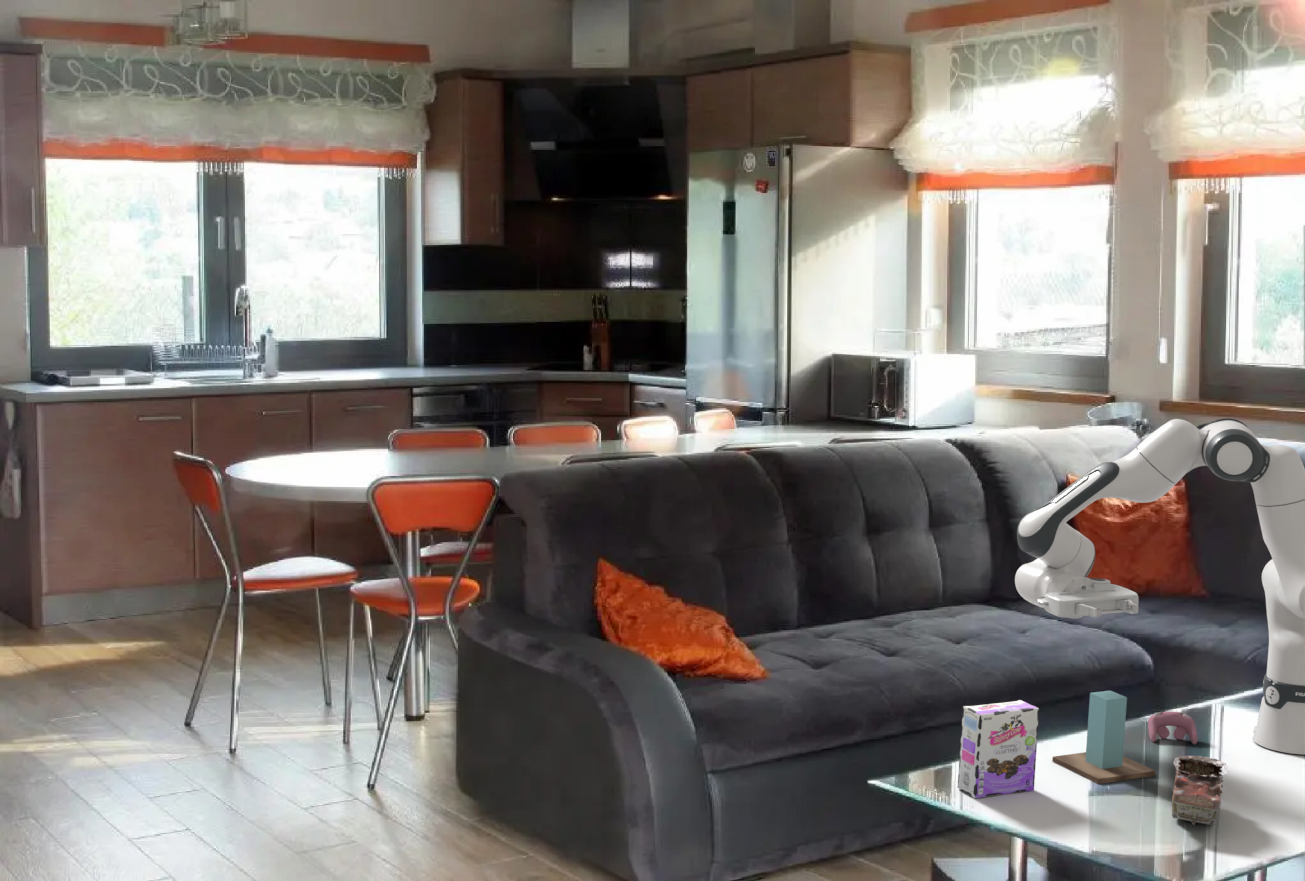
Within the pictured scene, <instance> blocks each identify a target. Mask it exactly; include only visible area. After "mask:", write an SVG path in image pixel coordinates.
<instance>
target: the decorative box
mask: <svg viewBox="0 0 1305 881" xmlns="http://www.w3.org/2000/svg"><path fill="white" fill-rule="evenodd" d="M1173 766H1174V768H1175V773H1174V774H1175V776H1174V782H1173V789H1172V792H1173V793H1172V796H1171V816H1172V818H1173V819H1178V820H1181V821H1187V822H1191V824H1192V825H1196V823H1197V824H1202V825H1209V826H1214V825H1215V823H1216V820H1217V817H1218V814H1219V811H1220V810H1221V804H1222V802H1221V801H1222V798H1221V796H1222V795H1221V794H1223V791H1222V788H1223V787H1224V785H1223V784H1222V783H1223V782H1224V780H1223V778H1224V776H1227V774H1228V772H1229V770H1228V769H1229V767H1228V765H1227V764H1226V763H1225V762H1223V761H1222V760H1219V759H1217V758H1211V757H1208V756H1201V755H1180V756H1177V757H1175V758H1174V759H1173Z"/></svg>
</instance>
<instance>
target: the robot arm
mask: <svg viewBox="0 0 1305 881" xmlns="http://www.w3.org/2000/svg"><path fill="white" fill-rule="evenodd" d="M1199 467H1208V469H1209V470H1210V471H1211V472H1212V473H1213V475H1215V476H1216V477H1218V478H1220V479H1222V480H1226V481H1229V482H1231V481H1232V482H1243V483H1250V485H1251V488H1252V491H1253V495H1254V502H1255V505H1256V506H1255V508H1256V511H1257V516H1258V522H1259V525H1260V530H1261V534H1262V540H1263V541H1264V544H1265V545H1266V548H1267V550H1268V551H1269V553H1270V556H1271V559H1270V560H1269V561H1268V562H1267V563H1266V564H1265V566H1264V567H1263V570H1262V572H1261V583H1262V587H1263V590H1264V595H1265V607H1266V618H1267V626H1268V627H1267V628H1268V651H1267V652H1268V653H1267V664H1266V673H1265V674H1264V676H1263V679H1262V680H1263V682H1262V685H1263V686H1262V692H1263V697H1262V698H1261V703H1260V707H1259V712H1258V718H1257V723H1256V726H1254V727H1253V733H1254V734H1253V737H1252V741H1253V742H1254V743H1256V744H1257V745H1258V746H1261V747H1263V748H1266V749H1269V750H1271V751H1277V752H1281V753H1287V754H1292V755H1293V754H1294V755H1303V756H1304V755H1305V466H1304V463H1303V460H1302V459H1301V456H1300V454H1299V452H1298V451H1297V450H1296V449H1295V448H1293V447H1290V446H1289V445H1288V446H1287V445H1282V444H1275V445H1270V446H1268V445H1264V444H1261V443H1260V441H1259V440H1258V438H1257V436H1256V434H1254V432H1253V431H1252V430H1251V429H1250V428H1249V427H1248V425H1247V424H1245V423H1243V422H1242V421H1240V420H1238V419H1234V418H1228V417H1227V418H1219V419H1216V420H1213V421H1210V422H1207V423H1202V424H1198V425H1197V426H1195V425H1194V424H1193V423H1191V422H1190V421H1187V420H1185V419H1181V418H1173V419H1170V420H1168V421H1167V422H1166V423H1164V424H1161V426H1159V427H1158V428H1157V429H1155V430H1154V431H1153V432H1152V433H1150V434H1149V435H1148V436H1147V437H1146V438H1144V439H1143V440H1142V441H1141V442H1139V444H1138V445H1137V446H1136V447H1135V448H1134V449H1133V450H1131V451H1130V452H1129V453H1127V454H1125V455H1124V456H1122V457H1120V458H1118V459H1116V460H1114V461H1106V462H1102V463H1100V464H1097V465H1096V466H1095V467H1093V468H1091V469H1090V470H1088V471H1087V472H1086V473H1085V474H1083V475H1082V476H1080V477H1079V478H1078V479H1076V480H1075V481H1074V482H1072V483H1070V484H1069V485H1068V486H1067V487H1066V488H1064V489H1063V490H1062V491H1060V492H1059V493H1057V495H1055V496H1054V497H1053V498H1051V499H1050V500H1048V501H1047V502H1045V503H1044V504H1042V505H1041V506H1038V507H1037V508H1034V509H1032V510H1031V511H1029V512H1028V513H1026V514H1025V515H1024V516H1023V517H1022V519H1021V518H1020V519H1021V520H1019V523H1018V525H1017V531H1016V539H1017V545H1018V547H1019V549H1020V550H1021V551H1022V552H1024V553H1026V554H1028V555H1029V556H1032V557H1033V558H1036V559H1034V560H1033V561H1031V562H1030V561H1029V562H1028V563H1024V564H1021V566H1019V568H1018V569H1017V570H1016V573H1015V574H1014V575H1015V576H1014V584H1015V585H1014V586H1015V588H1016V591H1017V592H1018V594H1019V595H1020V597H1022V598H1023V600H1025V601H1026V602H1028V603H1030V604H1032V605H1035V606H1037V607H1040V608H1042V609H1044V611H1046V612H1047V613H1049V614H1051V615H1053V616H1055V617H1059V618H1070V619H1072V620H1073V619H1081V618H1082V617H1085V616H1086V617H1091V618H1100V617H1101V616H1102V615H1107V614H1108V615H1109V614H1119V613H1126V614H1127V613H1128V614H1130V615H1135V614H1138V613H1139V595H1138V594H1139V593H1137V592H1135V591H1133V590H1132V589H1129V588H1126V587H1124V586H1120V585H1118V584H1113V583H1111V580H1109V579H1105V578H1098V577H1097V578H1096V577H1088V576H1089V574H1090V573H1091V571H1092V569H1093V566H1094V564H1095V561H1096V548H1095V544H1094V543H1093V541H1092V540H1090V539H1089V538H1088V537H1086V536H1085V535H1084V534H1082V533H1081V532H1080V531H1078V530H1077V529H1075V528H1073V527H1072V526H1071V525H1069V524H1068V523H1067V522H1068V521H1070V520H1071V519H1072V518H1074V517H1075V516H1076V515H1078V514H1079V513H1081V512H1082V511H1083V510H1084V509H1085V508H1087V507H1088V506H1090V505H1091V504H1092V503H1094V502H1095V501H1098V500H1101V499H1108V498H1109V499H1110V498H1112V499H1119V500H1124V501H1128V502H1129V501H1130V502H1133V503H1140V504H1141V503H1142V504H1143V503H1153V502H1155V501H1157V500H1159V499H1160V498H1162V497H1163V496H1165V495H1166V494H1168V492H1169V491H1170V490H1172V489H1173V488H1174V486H1176V485H1177V484H1178V482H1180V480H1181V479H1182V478H1183V477H1184V476H1185V475H1186V474H1187V473H1189V472H1191V471H1192V470H1194V469H1196V468H1199Z"/></svg>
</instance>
